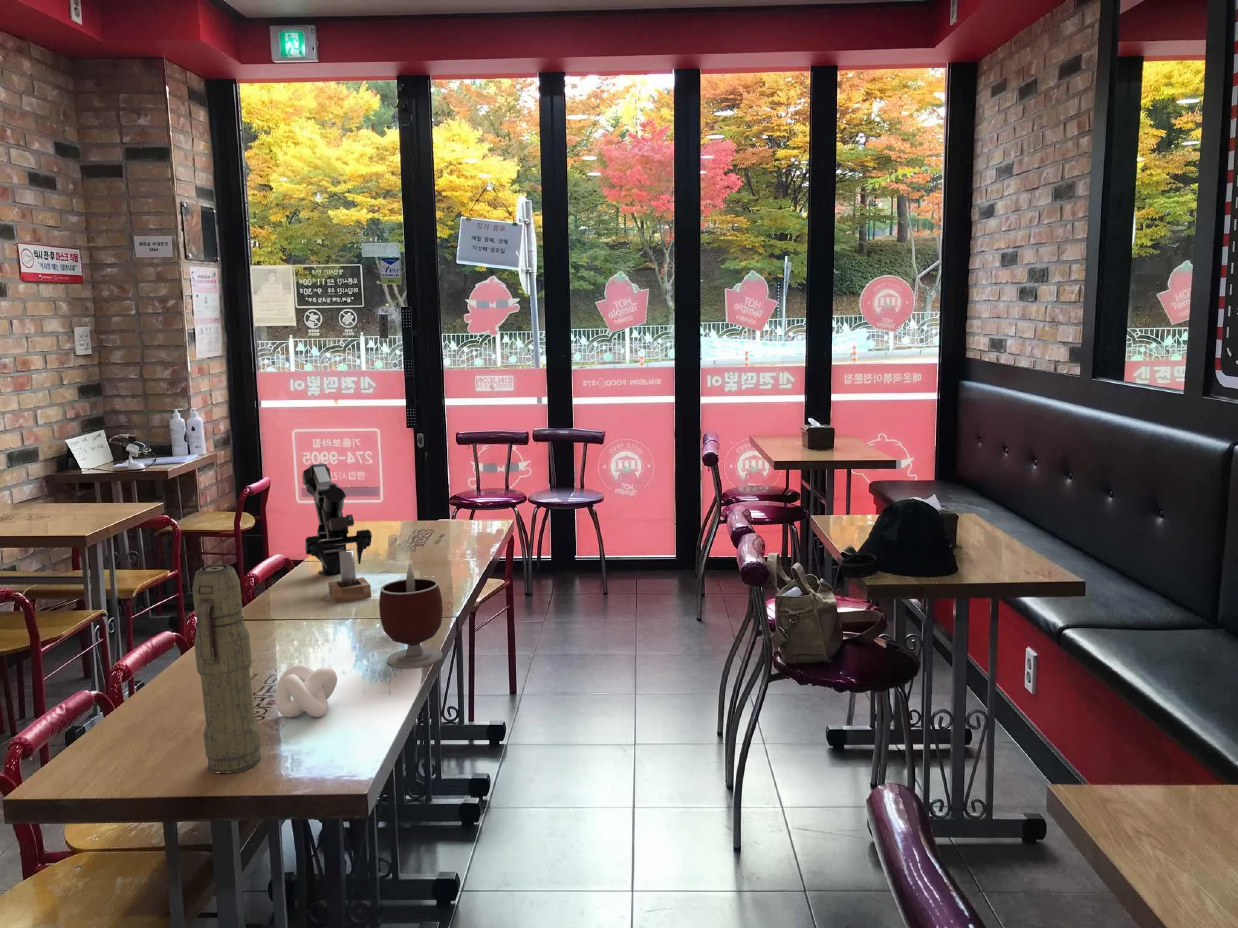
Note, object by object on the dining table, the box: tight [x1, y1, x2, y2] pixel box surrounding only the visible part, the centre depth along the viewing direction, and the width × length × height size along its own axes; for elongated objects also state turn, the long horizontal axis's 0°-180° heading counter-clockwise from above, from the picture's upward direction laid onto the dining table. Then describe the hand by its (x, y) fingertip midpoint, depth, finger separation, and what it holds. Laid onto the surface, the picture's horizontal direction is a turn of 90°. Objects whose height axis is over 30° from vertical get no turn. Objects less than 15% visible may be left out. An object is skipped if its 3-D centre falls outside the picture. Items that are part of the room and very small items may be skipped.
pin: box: [339, 549, 357, 587], centre depth 276 cm, size 4×4×13 cm
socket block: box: [327, 577, 372, 603], centre depth 277 cm, size 10×10×4 cm
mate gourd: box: [378, 563, 444, 669], centre depth 220 cm, size 16×14×20 cm
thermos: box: [192, 564, 262, 773], centre depth 167 cm, size 9×12×35 cm
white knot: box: [274, 663, 338, 718], centre depth 190 cm, size 11×12×9 cm
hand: (343, 565), depth 282 cm, fingers open, 9 cm apart
